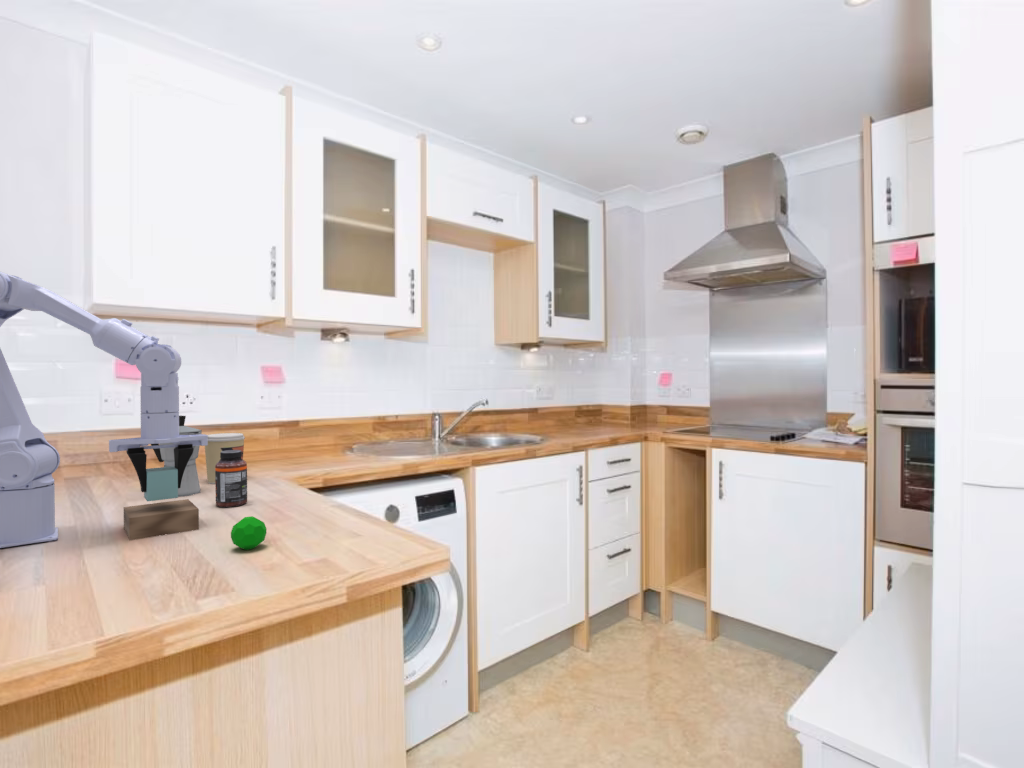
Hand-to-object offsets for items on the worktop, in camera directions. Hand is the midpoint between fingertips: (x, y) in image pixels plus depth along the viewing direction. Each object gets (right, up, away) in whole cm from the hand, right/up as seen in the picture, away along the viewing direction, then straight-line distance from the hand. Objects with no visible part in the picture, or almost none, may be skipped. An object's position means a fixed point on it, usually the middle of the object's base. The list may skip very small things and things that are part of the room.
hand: (160, 489), depth 96 cm
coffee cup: (-12, -7, +44) cm, 47 cm away
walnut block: (0, -7, 0) cm, 7 cm away
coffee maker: (-16, -7, +30) cm, 34 cm away
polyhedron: (+21, -7, -11) cm, 25 cm away
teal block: (0, -1, 0) cm, 1 cm away
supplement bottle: (+3, -7, +18) cm, 20 cm away
